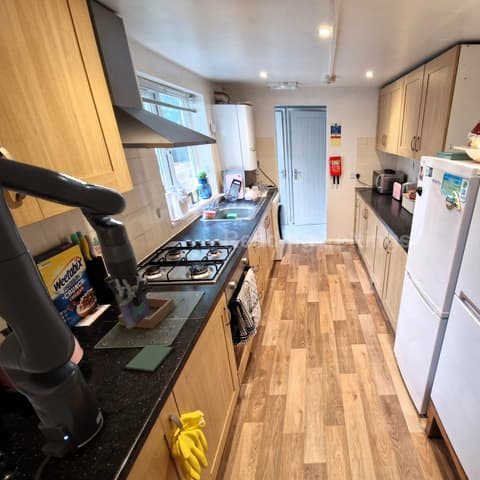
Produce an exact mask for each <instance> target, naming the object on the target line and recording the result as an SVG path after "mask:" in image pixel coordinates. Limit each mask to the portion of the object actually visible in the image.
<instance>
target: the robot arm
mask: <svg viewBox="0 0 480 480" xmlns="http://www.w3.org/2000/svg"><path fill="white" fill-rule="evenodd" d="M4 190H6V191H8V192H9V191H10V192H13V193H17V194H21V195H24V196H28V197H32V198H35V199H39V200H42V201H47V202H50V203H54V204H57V205H61V206H65V207H68V208H69V207H71V208H79V210H80V212H81V214H82V215H83V217H84V218H85V219H86V221H87V222H88V224H89V225H90V227H91V228H92V229H93V230H94V232H95V234H96V238H97V240H98V244H99V248H100V253H101V256H102V259H103V262H104V266H105V269H106V272H107V274H108V276H106V277H104V278H103V281H104V282H105V284H106V285H107V286H108V288H109V289H110V290H111V291H112V293H113V294H114V295H119V296H120V297H121V299H122V302H123V301H124V300H125V299H126V298H128V293H127V292H129V291H130V292H131V294H132V296H133V297H132V298H133V301H134V305H135V307H138V306H140V305H141V304H142V302H143V301H142V298H141V295H142V294H143V293H145V294H146V292H147V288H148V284H149V280H150V279H149V278H148V277H141V276H140V273H139V272H138V267H139V266H138V262H137V259H136V258H137V257H136V255H135V251H134V248H133V245H132V243H131V240H130V237H129V234H128V230H127V227H126V225H125V223H124V222H122V221H119V220H115V219H113V217H112V216H119V215H121V214H122V213H123V212H124V211H125V210H126V208H127V201H126V198H125V197H124V195H123V194H122V193H120V192H119V191H117V190H115V189H113V188H109V187H107V186H102V185H98V184H93V183H89V182H85V181H83V180H80V179H79V178H78V179H77V178H76V177H72V176H70V175H67V174H65V173H62V172H59V171H56V170H54V169H50V168H47V167H42V166H38V165H34V164H30V163H25V162H21V161H18V160H14V159H9V158H5V157H2V156H0V318H1V319H2V320H3V321H4V322H5V323H7V325H8V326H9V327H10V328H11V330H12V332H9V334H8V335H6V336H5V338H4V339H3V340H2V341H1V342H0V367H1V369H2V371H3V372H4V374H5V375H6V377H7V378H8V380H9V381H10V382H11V384H12V385H13V387H14V388H15V389H16V391H18V392H19V393H20V394H22V395H24V396H25V397H26V398H27V400H28V401H29V403H30V404H31V406H32V408H33V409H34V411H35V413H36V414H37V417H38V418H39V419H40V422H39V423H38V424H37V427H38V429H39V430H40V432H41V434H42V435H43V437H44V439H45V441H46V444H44V445H43V447H41V449H40V450H41V451H42V453H43V455H44V456H46V457H45V458H44V460H43V461H42V462H41V464H40V465H39V467H38V469H37V470H36V473H35V477H34V478H33V480H40V479H41V477H42V474H43V470H44V468H45V467H46V465H47V464H48V462H49V461H50V460H51V458H53V457H55V458H59V459H60V458H61V459H62V458H64V457H65V456H66V454H70V455H75V454H76V453H77V452H78V451H79V450H80V449H82V448H83V447H85V446H87V445H88V444H89V443H91V442H92V441H93V440H94V439H96V437H97V436H98V435H99V434H100V432H101V431H102V429H103V427H104V424H105V421H104V420H105V419H104V418H103V414H102V412H101V411H100V410H99V407H98V405H97V403H96V400H95V398H94V397H93V394H92V392H91V390H90V388H89V385H88V383H87V381H86V379H85V377H84V375H83V372H82V370H81V369H80V366H79V365H78V364H77V363H76V362H75V361H72V358H73V356H74V353H75V350H76V338H75V335H74V333H73V331H72V330H71V328H70V327H69V326H68V324H67V322H66V321H65V319H64V318H63V316H62V314H61V313H60V312H59V310H58V309H57V307H56V306H55V304H54V301H53V299H52V297H51V295H50V293H49V291H48V288H47V287H46V285H45V283H44V281H43V279H42V276H41V275H40V272H39V270H38V267H37V264H36V262H35V259H34V258H33V256H32V253H31V251H30V250H29V247H28V244H27V243H26V241H25V239H24V237H23V236H22V234H21V231H20V229H19V226H18V224H17V222H16V220H15V217H14V215H13V213H12V210H11V209H10V206H9V204H8V201H7V198H6V195H5V192H4ZM130 292H129V293H130Z"/></svg>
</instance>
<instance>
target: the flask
mask: <svg viewBox="0 0 480 480" xmlns="http://www.w3.org/2000/svg"><path fill="white" fill-rule="evenodd" d="M127 293H128V298H126V299H125V300H124V301H123V300H122V301H121V302H120V303H119V305H118V306H119V309H120V313H121V314H122V316H123V318H124V322H125V325H126V326H125V328H126V329H127V330H131V329H134V328H136V327H135V326H136V325H137V324H138V323H140V322H141V321H142V319H143V318H145V317H149V315H150V314H151V310H150V307H149V306H148V302H147V298H146V297H147V293H146V292H145V293H143V294H142V295H141V298H142V301H143V302H142V304H141V305H140V306H138V307H135V305H134V301H133V298H132V297H133V296H132V294H131V292H130V291H129V292H127Z"/></svg>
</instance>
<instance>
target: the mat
mask: <svg viewBox="0 0 480 480" xmlns="http://www.w3.org/2000/svg"><path fill="white" fill-rule="evenodd" d="M173 349H174V348H173V347H172V346H165V345H155V344H146V345H145V346H144V347H143V348H142V350H140V351H139V352H138V353H137V354H136V355H135V356H134V357H133V358H132V359H131V360H130V361H129V362H128V364H126V365H125V369H129V370H137V371H144V372H145V371H146V372H155V370H156V369H157V368H158V367H159V366H160V365H161V363H162V362H164V360H165V359H166V357H168V355H169V354H170V353H171V351H172V350H173Z"/></svg>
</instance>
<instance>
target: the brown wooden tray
mask: <svg viewBox="0 0 480 480" xmlns="http://www.w3.org/2000/svg"><path fill="white" fill-rule="evenodd" d="M146 298H147V302H148V306H149V308H158V309H157V310H156V311H155V312H154V313H152V314H151V316H146V317H145V318H143V319H142V321H141V322H140V323H138V324H137V325H136V326H135V327H134V328H143V329H153V330H154V328H156V326H157V325H158V324H159V323H160V322H161V321H162V320H164V319H165V318H166V317H167V315H169V313H171V312H172V311H173V310H174V309H175V308H176V306H175V302H174V299H173V298H168V297H167V298H166V297H155V296H146ZM117 318H118V322H119V324H120V327H121V326H123V327H126V325H125V322H124V318H123V316H122V313H121V314H119V315H118V316H117Z"/></svg>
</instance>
